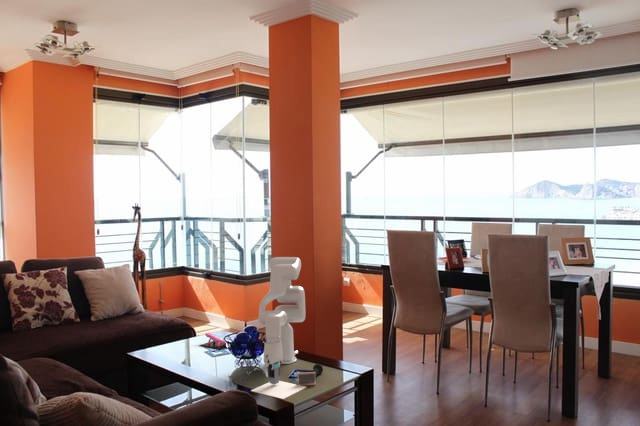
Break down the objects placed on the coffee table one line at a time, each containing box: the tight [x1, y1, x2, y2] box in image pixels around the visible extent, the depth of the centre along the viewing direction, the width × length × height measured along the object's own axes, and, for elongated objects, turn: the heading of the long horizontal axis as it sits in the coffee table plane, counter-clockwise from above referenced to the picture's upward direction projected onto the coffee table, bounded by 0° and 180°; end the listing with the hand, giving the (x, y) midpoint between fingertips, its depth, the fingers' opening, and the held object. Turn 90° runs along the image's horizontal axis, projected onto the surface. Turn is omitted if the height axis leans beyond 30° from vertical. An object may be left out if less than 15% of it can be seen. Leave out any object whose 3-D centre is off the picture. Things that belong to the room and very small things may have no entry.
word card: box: [296, 371, 317, 386], centre depth 272 cm, size 1×9×6 cm, turn 95°
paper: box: [250, 380, 307, 400], centre depth 267 cm, size 18×20×1 cm
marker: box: [269, 362, 280, 384], centre depth 271 cm, size 3×3×10 cm
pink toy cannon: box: [198, 332, 228, 351], centre depth 347 cm, size 15×20×7 cm
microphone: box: [312, 363, 324, 376], centre depth 283 cm, size 5×5×19 cm
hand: (274, 375), depth 271 cm, fingers closed on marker, 3 cm apart
